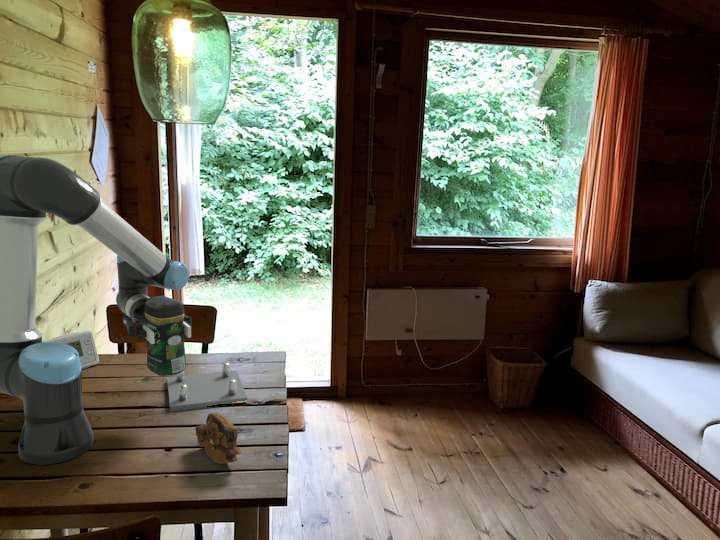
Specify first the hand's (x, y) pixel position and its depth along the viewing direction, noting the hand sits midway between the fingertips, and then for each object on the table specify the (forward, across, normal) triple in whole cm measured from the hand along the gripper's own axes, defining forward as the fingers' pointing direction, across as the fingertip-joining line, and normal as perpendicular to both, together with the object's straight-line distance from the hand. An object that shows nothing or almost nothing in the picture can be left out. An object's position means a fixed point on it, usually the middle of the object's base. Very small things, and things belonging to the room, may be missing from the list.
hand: (171, 335), depth 136 cm
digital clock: (-52, +14, -24) cm, 59 cm away
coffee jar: (-5, 0, -11) cm, 12 cm away
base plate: (-16, -14, -24) cm, 32 cm away
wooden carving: (+20, -3, -24) cm, 31 cm away
